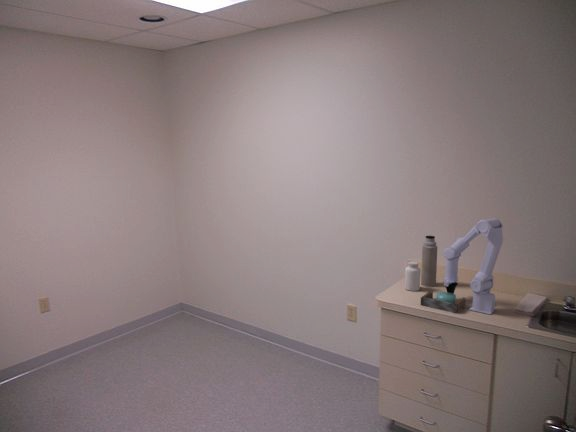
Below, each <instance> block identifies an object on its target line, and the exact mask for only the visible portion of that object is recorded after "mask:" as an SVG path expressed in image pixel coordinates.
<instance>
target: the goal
mask: <svg viewBox="0 0 576 432" xmlns="http://www.w3.org/2000/svg"><path fill="white" fill-rule="evenodd" d="M466 302H467V300H466V297H462V298H460V300H458V301H457V302H456V304H453V303H449V302H444V301H439V300H436V299H434V291H432V290H430V291H428V292H426V293H425V294H424V295H422V296H420V306H422V307H426V308H427V307H428V308H431V309H435V310H440V311H444V312H449V313H453V314H458V313H459V312H460V311H461V310H462V309H463V308H465V306H466Z"/></svg>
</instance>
